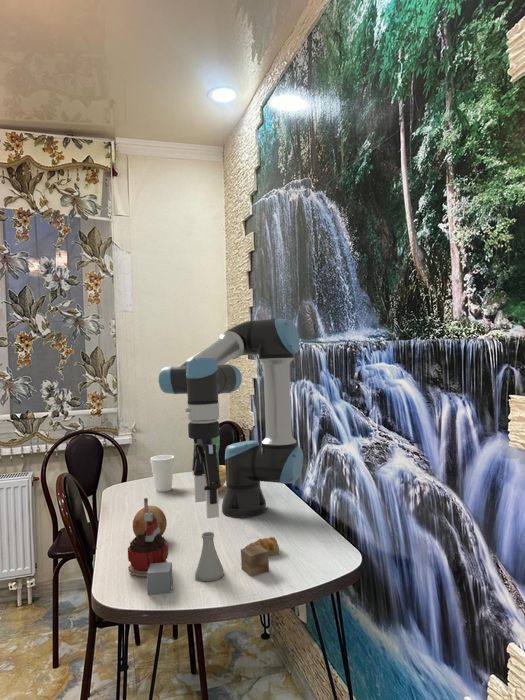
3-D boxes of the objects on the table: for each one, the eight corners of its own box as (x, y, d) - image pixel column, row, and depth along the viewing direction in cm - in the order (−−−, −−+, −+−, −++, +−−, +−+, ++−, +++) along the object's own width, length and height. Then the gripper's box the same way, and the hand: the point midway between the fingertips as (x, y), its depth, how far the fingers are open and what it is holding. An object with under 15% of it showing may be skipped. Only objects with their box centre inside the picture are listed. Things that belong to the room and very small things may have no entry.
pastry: (248, 562, 123) (247, 547, 123) (239, 552, 129) (239, 538, 129) (281, 555, 126) (281, 540, 126) (271, 546, 132) (271, 532, 132)
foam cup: (172, 492, 189) (171, 459, 189) (149, 493, 189) (148, 460, 190) (177, 485, 199) (176, 454, 199) (155, 486, 199) (153, 455, 199)
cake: (138, 560, 126) (135, 492, 126) (172, 561, 125) (170, 492, 125) (122, 580, 115) (119, 505, 115) (159, 580, 114) (156, 504, 114)
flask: (219, 583, 111) (218, 540, 112) (190, 581, 113) (188, 539, 113) (228, 569, 119) (226, 529, 119) (200, 568, 120) (198, 528, 120)
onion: (155, 549, 133) (154, 513, 133) (125, 545, 137) (124, 510, 137) (173, 536, 142) (172, 502, 142) (145, 533, 146) (144, 500, 146)
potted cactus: (198, 484, 200) (196, 424, 200) (234, 483, 198) (232, 423, 198) (187, 494, 185) (185, 430, 185) (226, 494, 183) (224, 429, 183)
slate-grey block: (172, 583, 113) (171, 562, 113) (170, 593, 108) (169, 571, 108) (151, 584, 112) (150, 563, 112) (147, 595, 107) (146, 573, 107)
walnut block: (259, 564, 121) (258, 544, 121) (269, 571, 116) (268, 551, 117) (241, 569, 118) (240, 549, 118) (250, 577, 114) (250, 556, 114)
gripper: (179, 417, 127) (182, 497, 126) (198, 428, 103) (201, 527, 103) (207, 415, 129) (210, 494, 129) (232, 425, 106) (235, 522, 105)
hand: (206, 509), depth 116 cm, fingers open, 13 cm apart
